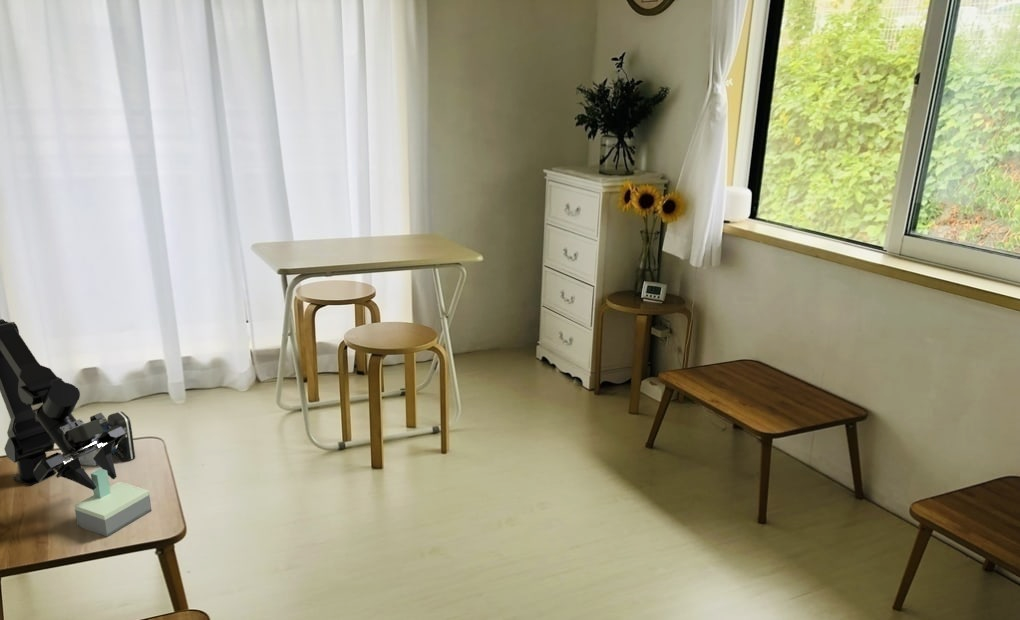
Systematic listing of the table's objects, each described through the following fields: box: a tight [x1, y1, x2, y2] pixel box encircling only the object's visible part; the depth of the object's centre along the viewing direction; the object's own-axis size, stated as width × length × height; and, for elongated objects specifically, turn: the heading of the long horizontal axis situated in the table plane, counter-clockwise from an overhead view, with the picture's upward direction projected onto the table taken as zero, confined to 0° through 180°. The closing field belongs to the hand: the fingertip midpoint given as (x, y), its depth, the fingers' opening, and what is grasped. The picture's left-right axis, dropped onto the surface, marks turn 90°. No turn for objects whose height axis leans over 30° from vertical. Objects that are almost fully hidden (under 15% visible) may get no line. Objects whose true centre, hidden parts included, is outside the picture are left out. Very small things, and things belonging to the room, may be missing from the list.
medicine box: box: [79, 425, 117, 467], centre depth 184 cm, size 8×4×9 cm, turn 170°
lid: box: [73, 468, 150, 520], centre depth 158 cm, size 9×11×6 cm
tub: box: [74, 494, 153, 538], centre depth 160 cm, size 9×11×4 cm
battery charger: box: [106, 411, 136, 462], centre depth 185 cm, size 7×4×11 cm, turn 45°
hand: (105, 483), depth 158 cm, fingers open, 5 cm apart
